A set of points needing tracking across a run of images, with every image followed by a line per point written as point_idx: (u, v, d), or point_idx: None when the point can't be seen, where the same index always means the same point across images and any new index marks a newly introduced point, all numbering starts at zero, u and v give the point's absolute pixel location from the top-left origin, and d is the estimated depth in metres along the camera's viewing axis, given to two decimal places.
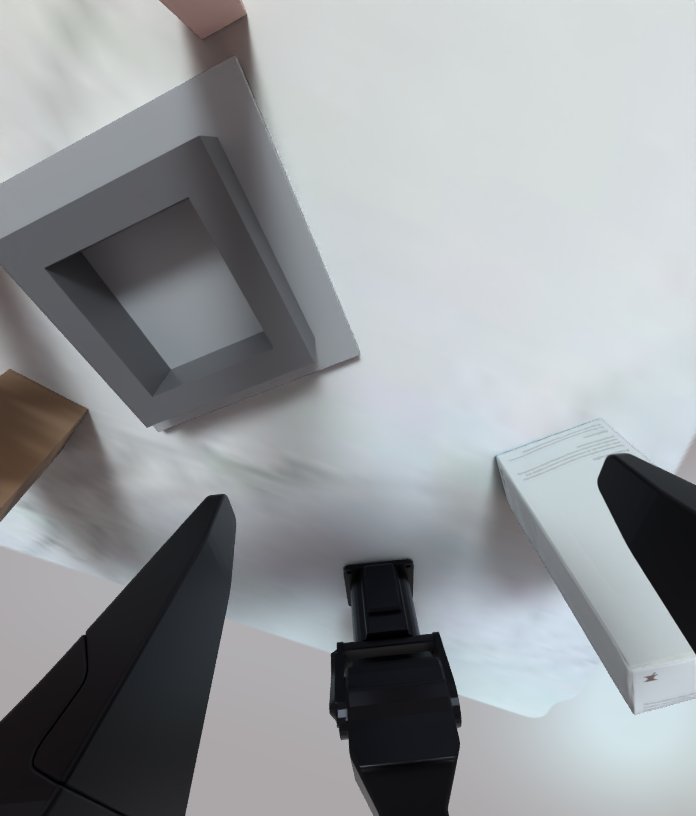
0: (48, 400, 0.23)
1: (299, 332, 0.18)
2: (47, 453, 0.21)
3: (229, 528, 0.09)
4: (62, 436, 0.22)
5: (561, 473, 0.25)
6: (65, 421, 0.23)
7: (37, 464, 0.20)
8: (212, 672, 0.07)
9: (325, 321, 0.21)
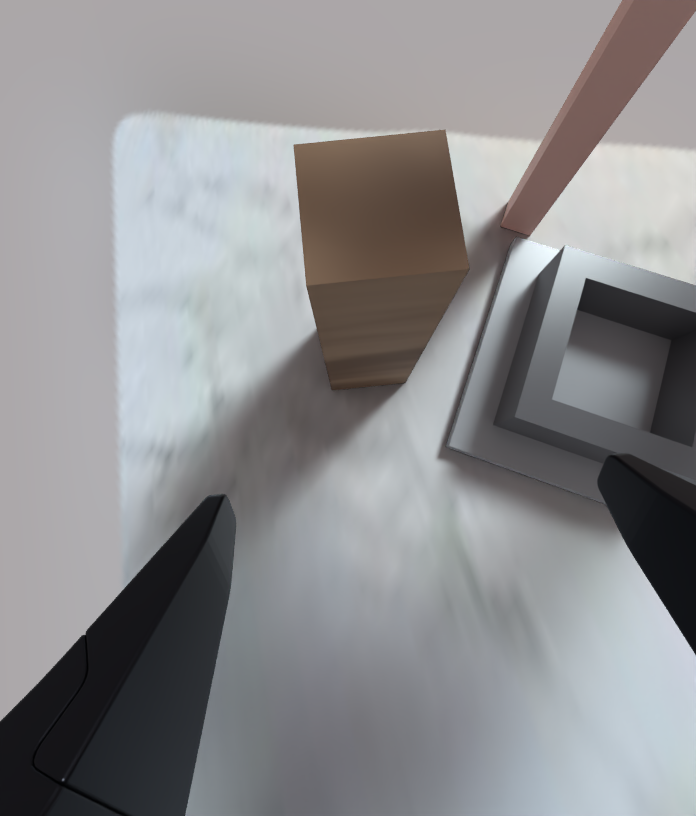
0: None
1: None
2: (416, 361, 0.19)
3: (229, 528, 0.09)
4: (412, 369, 0.21)
5: None
6: None
7: (419, 355, 0.18)
8: (212, 672, 0.07)
9: None
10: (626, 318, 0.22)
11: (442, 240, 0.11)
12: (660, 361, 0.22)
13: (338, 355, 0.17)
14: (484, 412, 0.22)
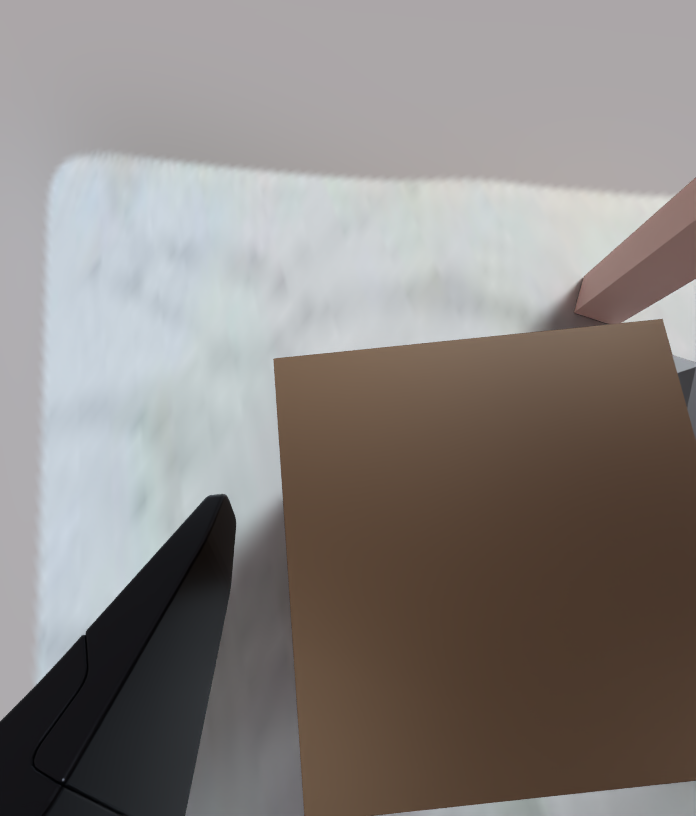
0: None
1: None
2: None
3: (229, 528, 0.09)
4: None
5: None
6: None
7: None
8: (212, 672, 0.07)
9: None
10: None
11: (694, 665, 0.04)
12: None
13: None
14: None
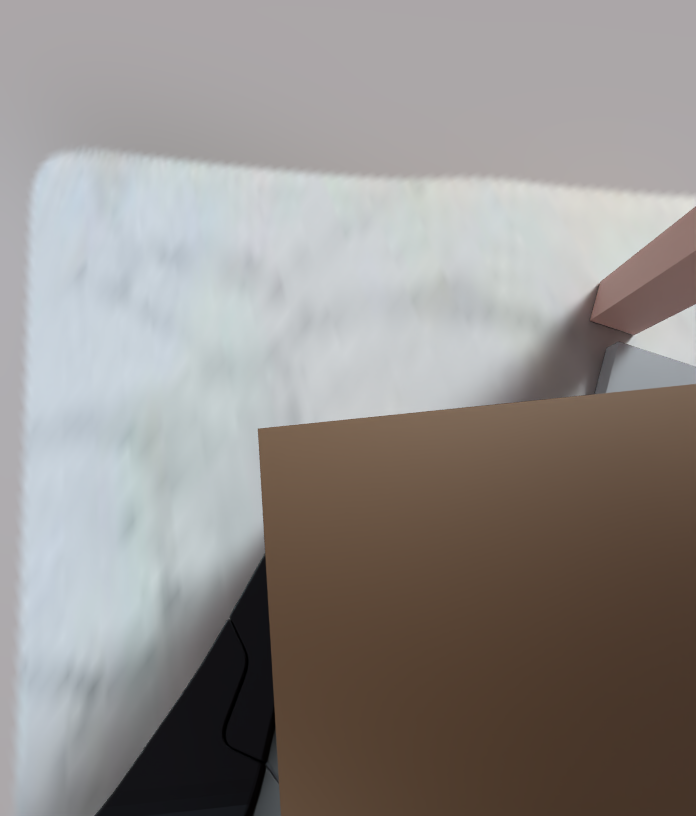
0: None
1: None
2: None
3: None
4: None
5: None
6: None
7: None
8: None
9: None
10: None
11: None
12: None
13: None
14: None
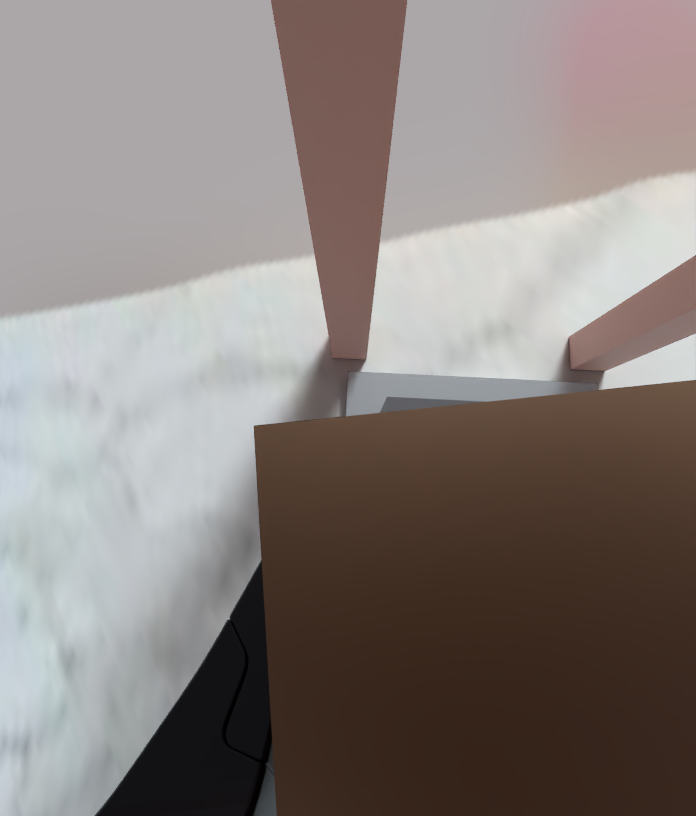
0: None
1: None
2: None
3: None
4: None
5: None
6: None
7: None
8: None
9: None
10: None
11: None
12: None
13: None
14: None
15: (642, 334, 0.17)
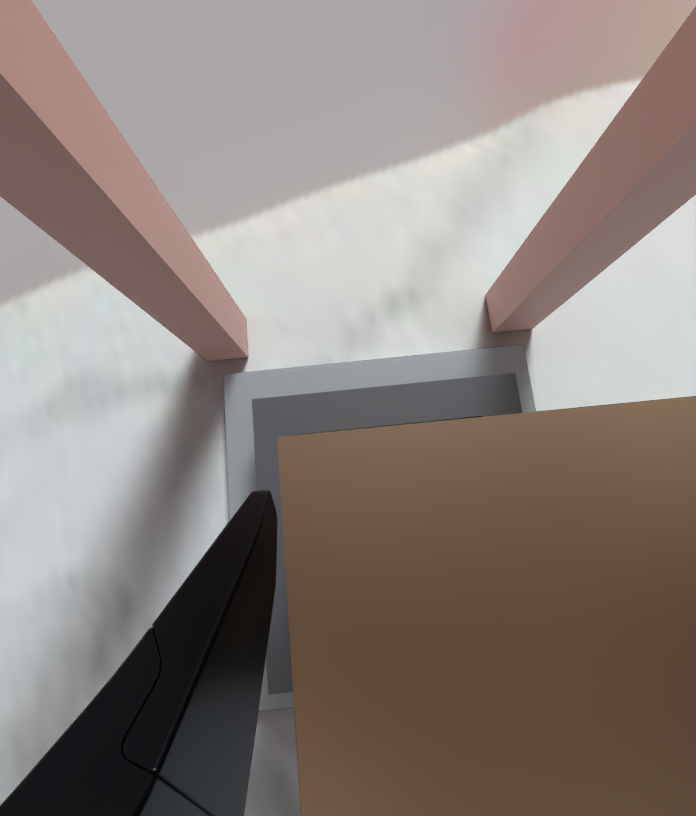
0: None
1: None
2: None
3: (273, 523, 0.09)
4: None
5: None
6: None
7: None
8: (263, 666, 0.07)
9: None
10: None
11: None
12: None
13: None
14: None
15: (551, 273, 0.13)
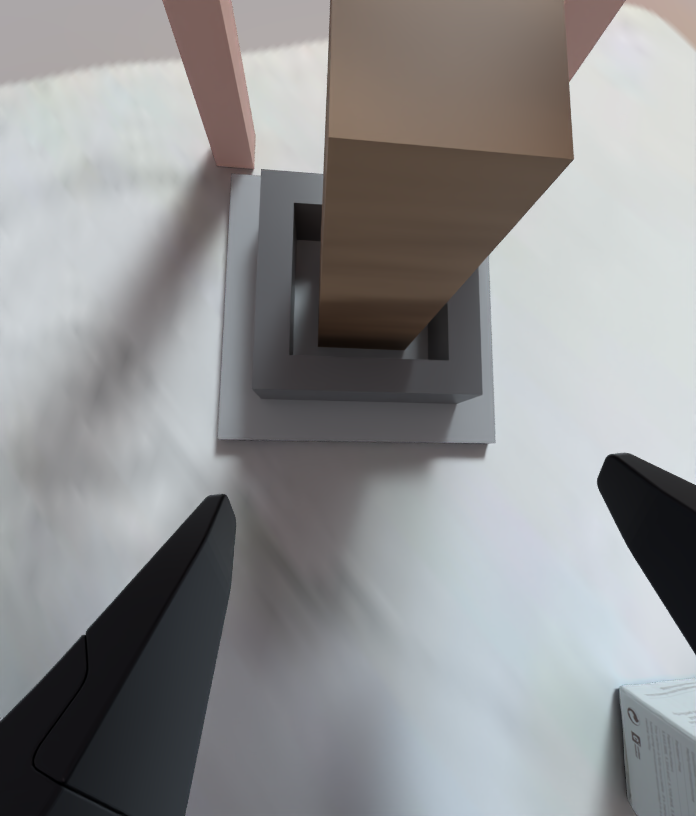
0: None
1: (480, 357, 0.17)
2: (429, 320, 0.16)
3: (229, 528, 0.09)
4: None
5: None
6: None
7: None
8: (212, 672, 0.07)
9: None
10: None
11: (540, 109, 0.07)
12: None
13: (340, 292, 0.13)
14: (248, 388, 0.19)
15: None
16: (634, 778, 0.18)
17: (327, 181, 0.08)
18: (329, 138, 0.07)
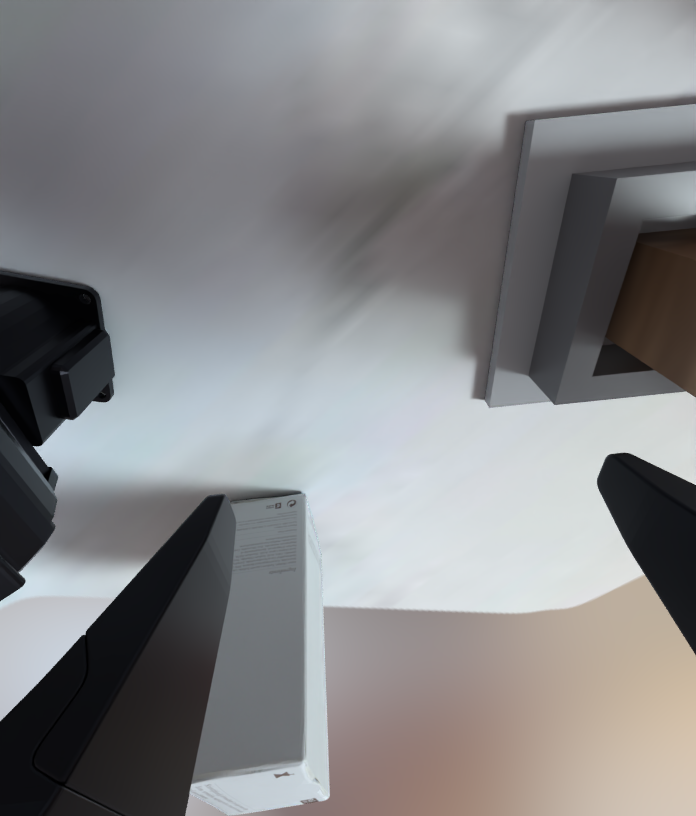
0: None
1: (586, 400, 0.20)
2: (646, 363, 0.17)
3: (229, 528, 0.09)
4: (624, 348, 0.18)
5: (314, 562, 0.26)
6: None
7: (660, 373, 0.16)
8: (212, 672, 0.07)
9: (536, 388, 0.23)
10: None
11: None
12: None
13: None
14: (588, 154, 0.16)
15: None
16: (250, 505, 0.27)
17: None
18: None
